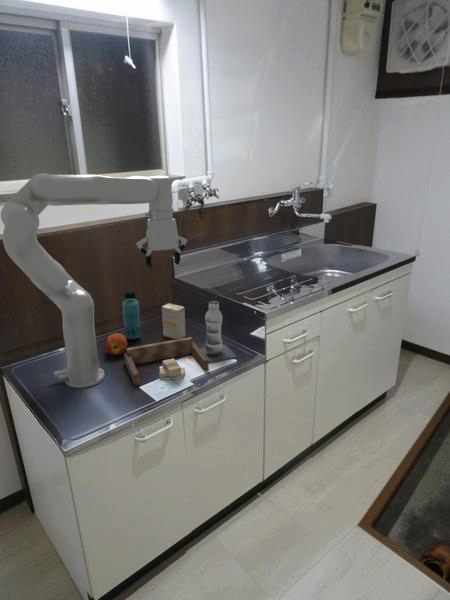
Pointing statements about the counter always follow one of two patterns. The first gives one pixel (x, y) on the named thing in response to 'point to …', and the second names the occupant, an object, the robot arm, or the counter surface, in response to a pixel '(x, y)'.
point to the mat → (220, 355)
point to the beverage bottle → (131, 316)
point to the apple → (116, 344)
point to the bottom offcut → (164, 374)
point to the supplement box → (173, 321)
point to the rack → (162, 354)
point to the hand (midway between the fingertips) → (163, 265)
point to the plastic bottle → (213, 329)
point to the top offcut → (171, 367)
